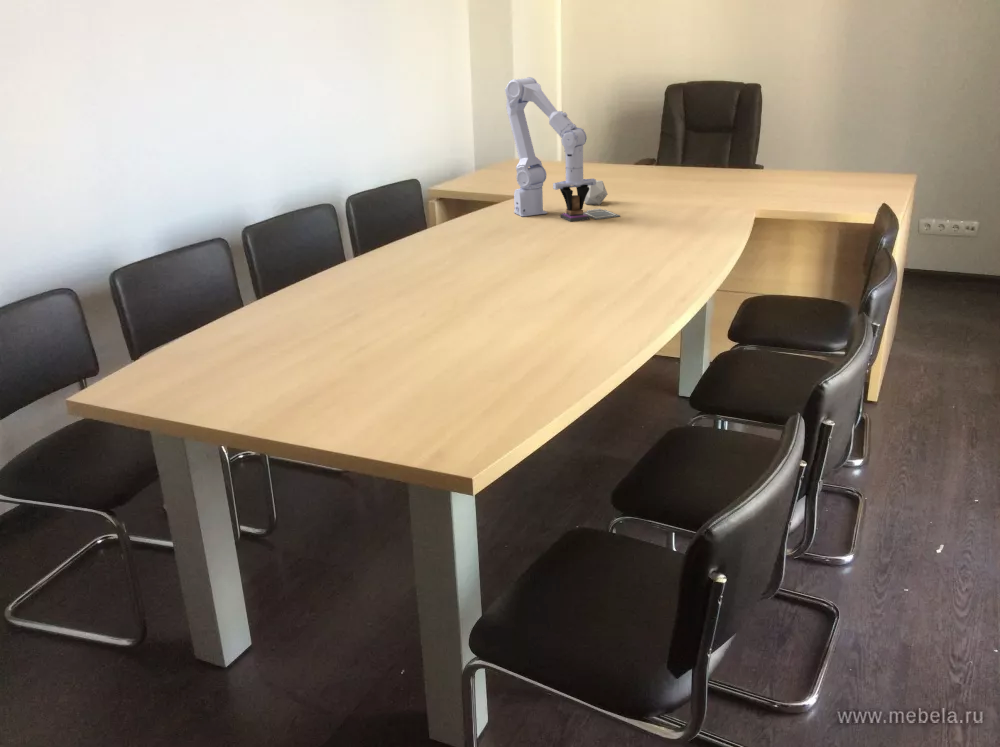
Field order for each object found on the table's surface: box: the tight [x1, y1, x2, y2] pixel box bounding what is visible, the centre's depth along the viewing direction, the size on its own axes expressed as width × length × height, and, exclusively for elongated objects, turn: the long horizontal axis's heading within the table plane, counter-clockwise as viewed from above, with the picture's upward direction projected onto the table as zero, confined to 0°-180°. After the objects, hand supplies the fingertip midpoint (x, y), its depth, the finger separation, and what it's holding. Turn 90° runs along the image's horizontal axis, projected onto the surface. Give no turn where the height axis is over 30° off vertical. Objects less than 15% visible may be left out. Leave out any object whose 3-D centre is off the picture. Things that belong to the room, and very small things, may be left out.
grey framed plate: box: [583, 208, 621, 220], centre depth 282 cm, size 9×11×1 cm
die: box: [584, 179, 608, 206], centre depth 299 cm, size 8×9×10 cm
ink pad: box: [559, 212, 591, 223], centre depth 279 cm, size 7×8×1 cm
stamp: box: [565, 194, 584, 216], centre depth 278 cm, size 4×4×6 cm
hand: (574, 209), depth 278 cm, fingers closed on stamp, 3 cm apart
